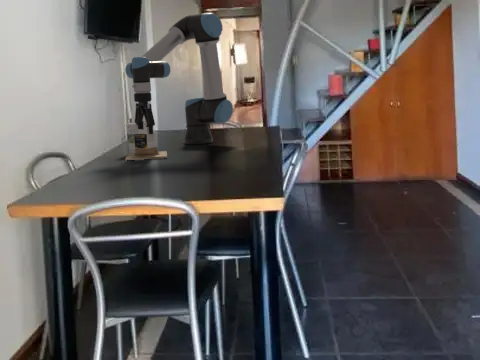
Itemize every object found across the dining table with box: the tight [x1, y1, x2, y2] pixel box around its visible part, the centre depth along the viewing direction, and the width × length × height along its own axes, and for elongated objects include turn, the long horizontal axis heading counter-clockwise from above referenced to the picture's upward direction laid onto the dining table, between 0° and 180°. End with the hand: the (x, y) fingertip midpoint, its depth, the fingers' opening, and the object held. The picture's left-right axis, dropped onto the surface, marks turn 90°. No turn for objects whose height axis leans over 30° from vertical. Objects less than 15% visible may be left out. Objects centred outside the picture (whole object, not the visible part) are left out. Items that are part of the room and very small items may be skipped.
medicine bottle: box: [134, 120, 158, 149], centre depth 275 cm, size 7×7×12 cm
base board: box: [125, 146, 168, 162], centre depth 276 cm, size 18×18×4 cm
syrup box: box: [125, 122, 137, 153], centre depth 289 cm, size 6×6×14 cm
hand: (145, 140), depth 275 cm, fingers open, 13 cm apart
